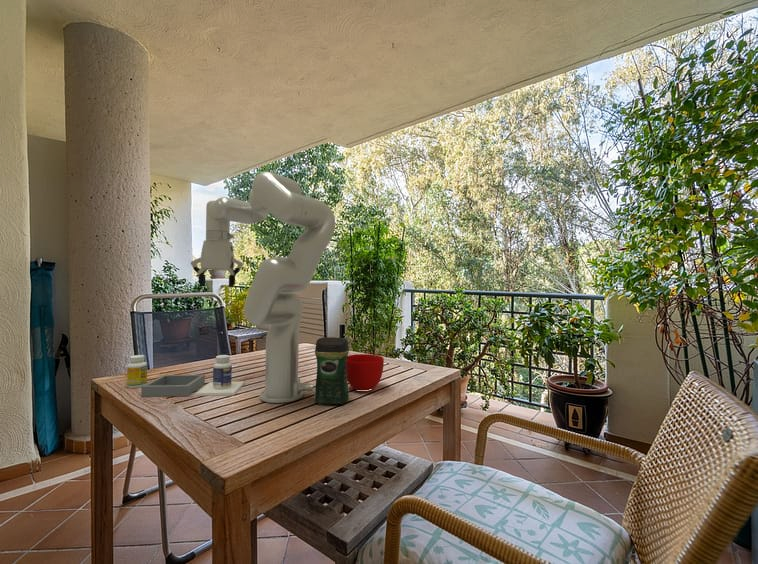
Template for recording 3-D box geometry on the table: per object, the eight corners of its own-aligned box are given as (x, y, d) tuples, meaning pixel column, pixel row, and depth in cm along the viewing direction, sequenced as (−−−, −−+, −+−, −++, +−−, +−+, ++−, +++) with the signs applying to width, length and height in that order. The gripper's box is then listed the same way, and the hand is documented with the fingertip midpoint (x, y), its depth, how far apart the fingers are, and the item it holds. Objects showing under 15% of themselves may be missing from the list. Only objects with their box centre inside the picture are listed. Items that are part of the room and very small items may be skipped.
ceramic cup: (381, 380, 127) (382, 352, 127) (384, 395, 110) (384, 362, 110) (345, 379, 127) (345, 351, 127) (342, 395, 110) (342, 362, 110)
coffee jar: (350, 398, 107) (351, 336, 107) (345, 407, 99) (346, 340, 99) (318, 396, 108) (320, 335, 108) (311, 405, 100) (312, 339, 100)
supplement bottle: (131, 383, 118) (131, 354, 118) (149, 383, 119) (150, 354, 119) (123, 388, 112) (123, 358, 112) (142, 387, 114) (143, 357, 114)
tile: (244, 383, 120) (244, 381, 120) (233, 395, 108) (233, 392, 108) (210, 384, 119) (210, 381, 119) (195, 395, 107) (195, 393, 107)
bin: (204, 383, 119) (204, 374, 119) (187, 396, 106) (187, 386, 106) (163, 384, 118) (163, 375, 118) (141, 396, 105) (141, 386, 105)
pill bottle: (224, 390, 110) (225, 358, 110) (209, 388, 111) (209, 357, 111) (235, 385, 115) (235, 354, 115) (220, 383, 116) (220, 354, 116)
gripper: (246, 239, 129) (245, 286, 129) (196, 237, 128) (195, 286, 128) (240, 236, 122) (239, 287, 122) (187, 235, 120) (186, 286, 120)
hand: (216, 286), depth 125 cm, fingers open, 9 cm apart
